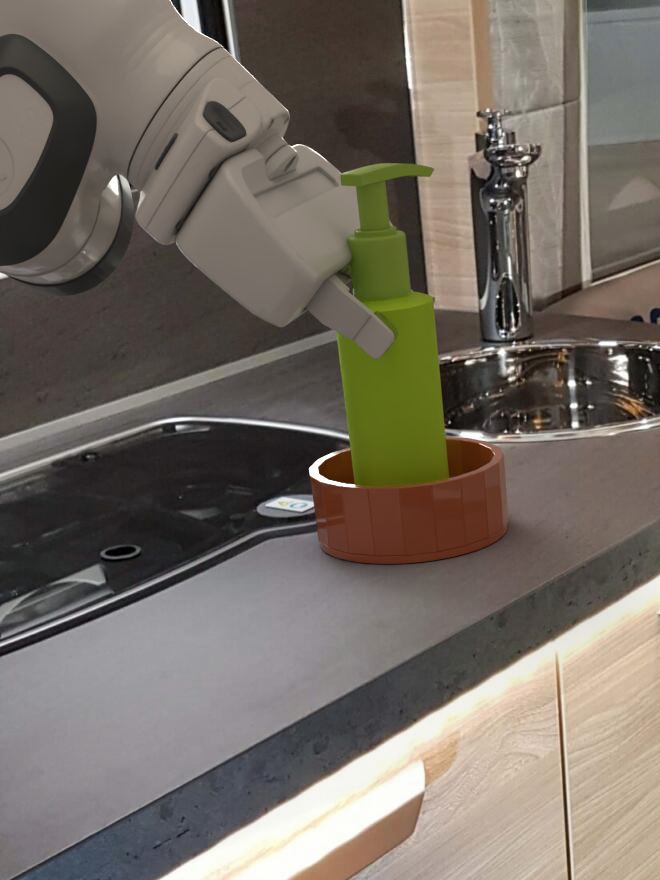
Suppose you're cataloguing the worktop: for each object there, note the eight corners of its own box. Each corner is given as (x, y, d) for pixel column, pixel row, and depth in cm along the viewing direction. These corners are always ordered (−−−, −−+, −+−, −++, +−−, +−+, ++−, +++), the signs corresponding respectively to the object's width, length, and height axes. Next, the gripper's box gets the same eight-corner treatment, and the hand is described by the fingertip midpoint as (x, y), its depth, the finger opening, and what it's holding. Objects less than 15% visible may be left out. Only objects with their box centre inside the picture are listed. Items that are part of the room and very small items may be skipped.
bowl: (296, 565, 94) (285, 490, 92) (346, 508, 104) (337, 439, 101) (489, 562, 92) (483, 485, 89) (521, 504, 102) (517, 433, 99)
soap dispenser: (484, 519, 98) (456, 159, 86) (399, 547, 94) (358, 175, 83) (426, 503, 101) (392, 157, 90) (342, 530, 98) (295, 172, 87)
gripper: (243, 181, 98) (410, 340, 101) (124, 228, 81) (328, 416, 85) (301, 94, 94) (471, 262, 98) (188, 124, 78) (398, 325, 81)
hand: (404, 334), depth 91 cm, fingers open, 6 cm apart
